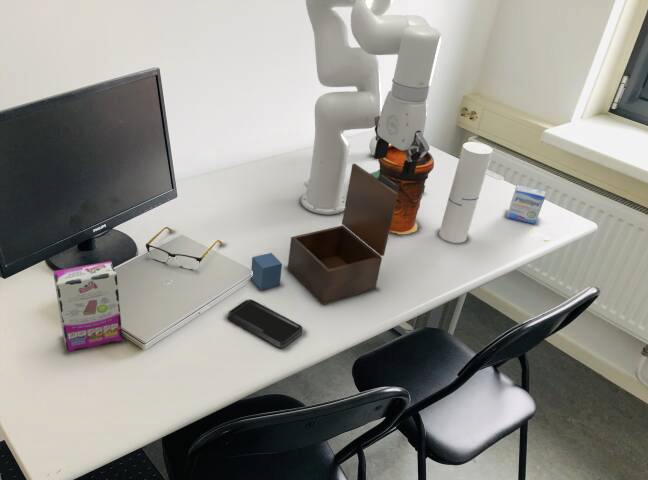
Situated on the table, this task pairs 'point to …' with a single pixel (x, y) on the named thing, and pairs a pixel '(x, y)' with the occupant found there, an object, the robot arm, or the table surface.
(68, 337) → the candy bar box
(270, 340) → the phone
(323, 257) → the chest
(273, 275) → the block
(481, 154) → the cylindrical container
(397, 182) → the vessel
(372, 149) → the white rounded piece
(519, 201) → the medicine box
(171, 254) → the eyeglasses
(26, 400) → the table surface
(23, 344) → the table surface
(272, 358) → the table surface
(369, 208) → the lid
